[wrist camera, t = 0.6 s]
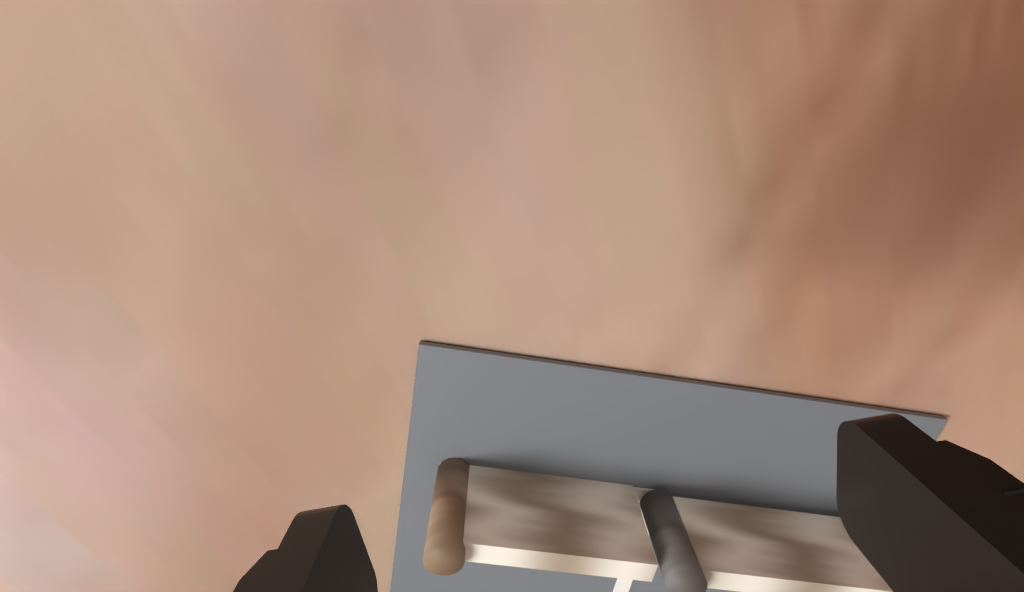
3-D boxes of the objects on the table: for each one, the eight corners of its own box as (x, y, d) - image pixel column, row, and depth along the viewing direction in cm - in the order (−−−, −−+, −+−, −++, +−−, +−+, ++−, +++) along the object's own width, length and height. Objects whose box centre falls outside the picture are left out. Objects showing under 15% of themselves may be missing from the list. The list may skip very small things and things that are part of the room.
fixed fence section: (435, 482, 31) (420, 573, 25) (439, 455, 30) (424, 542, 24) (626, 505, 32) (652, 598, 26) (634, 480, 31) (663, 569, 25)
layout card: (420, 340, 28) (418, 345, 27) (942, 415, 30) (949, 421, 29) (387, 621, 36) (385, 628, 35) (797, 662, 38) (801, 669, 38)
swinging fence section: (636, 513, 31) (662, 599, 26) (644, 487, 30) (673, 571, 25) (857, 539, 32) (924, 627, 27) (870, 515, 32) (942, 601, 26)
